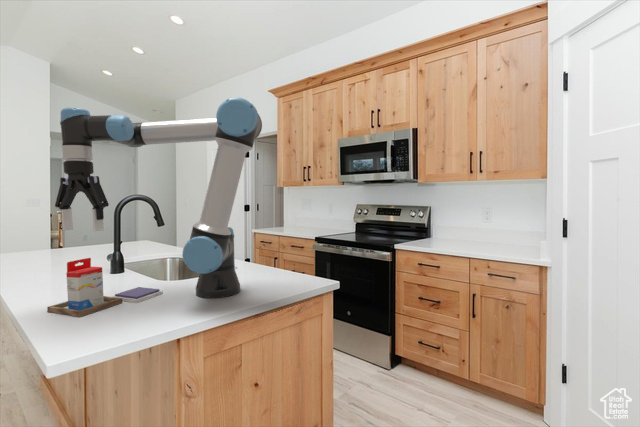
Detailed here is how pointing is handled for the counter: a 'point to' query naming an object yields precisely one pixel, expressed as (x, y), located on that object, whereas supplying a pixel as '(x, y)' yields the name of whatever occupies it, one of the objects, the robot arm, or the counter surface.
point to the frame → (64, 310)
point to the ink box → (84, 285)
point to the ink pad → (138, 294)
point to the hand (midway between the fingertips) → (82, 230)
